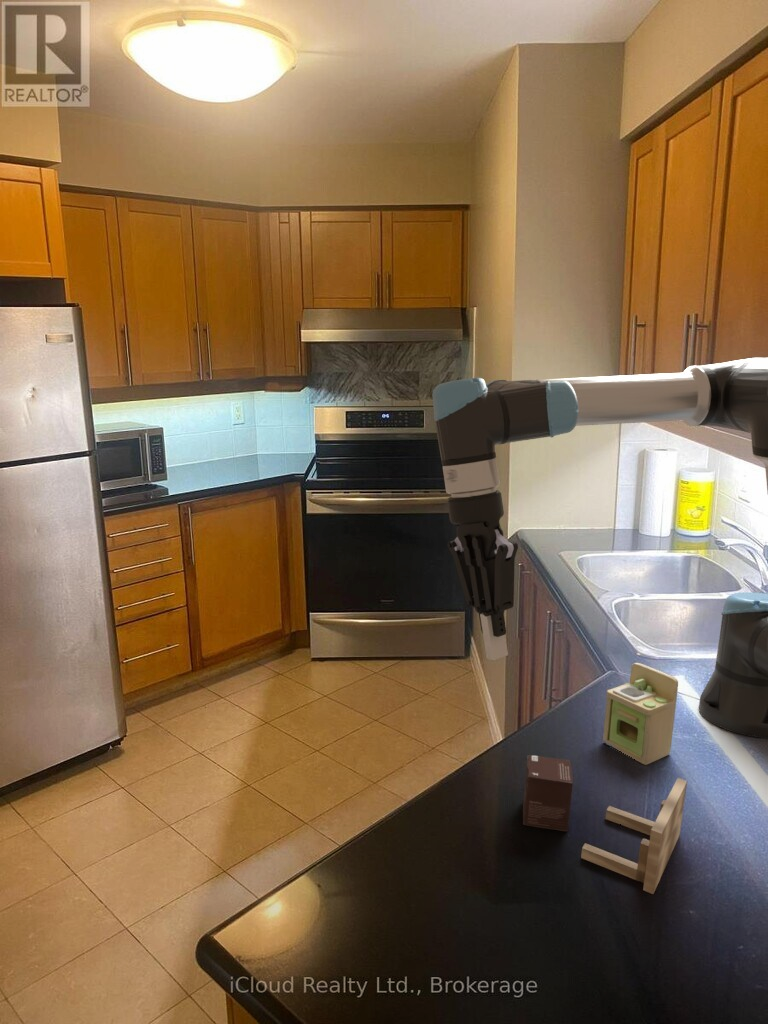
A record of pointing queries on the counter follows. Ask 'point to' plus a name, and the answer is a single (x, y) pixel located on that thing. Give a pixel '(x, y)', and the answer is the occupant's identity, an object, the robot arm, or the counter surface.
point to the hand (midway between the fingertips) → (497, 656)
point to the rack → (645, 840)
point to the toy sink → (642, 714)
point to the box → (547, 793)
